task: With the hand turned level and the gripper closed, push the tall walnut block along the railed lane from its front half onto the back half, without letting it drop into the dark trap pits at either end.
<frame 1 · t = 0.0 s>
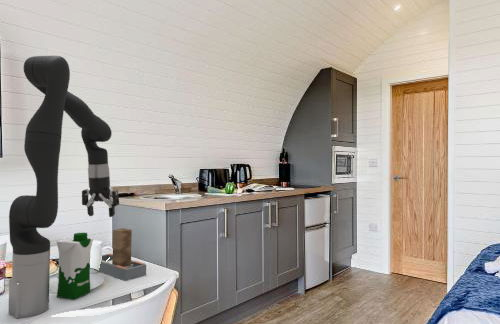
hand: (101, 216, 137), 22 cm above the table, tool pointing down, fingers open, 8 cm apart
walnut block: (121, 265, 138), point 3 cm above the table, touching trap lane
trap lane: (116, 271, 140), on the table
milk carton: (73, 295, 114), on the table
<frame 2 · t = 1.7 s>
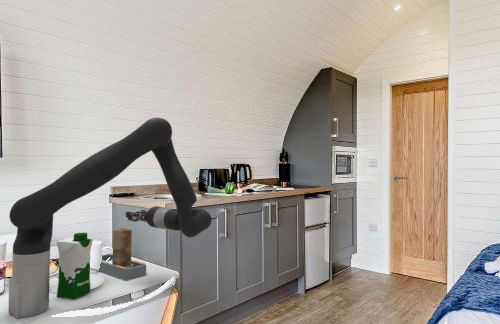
hand: (134, 213, 134), 24 cm above the table, tool horizontal, fingers open, 5 cm apart
nothing on the table moved.
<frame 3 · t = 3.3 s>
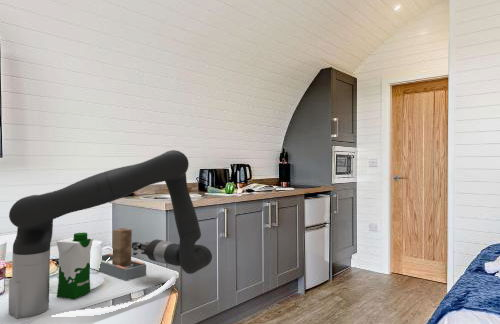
hand: (133, 244, 134), 12 cm above the table, tool horizontal, fingers closed
nothing on the table moved.
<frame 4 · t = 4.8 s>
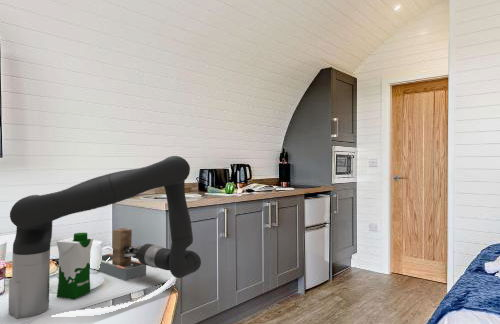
hand: (125, 248, 136), 10 cm above the table, tool horizontal, fingers closed
walnut block: (121, 265, 138), point 3 cm above the table, touching gripper
everything else where it was.
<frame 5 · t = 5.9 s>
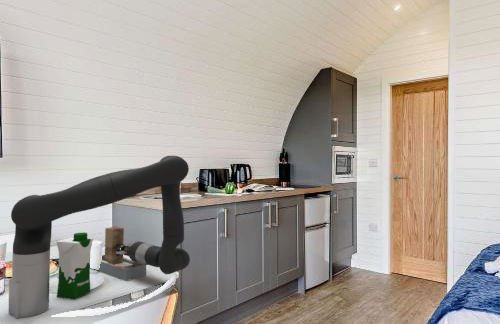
hand: (117, 246, 140), 10 cm above the table, tool horizontal, fingers closed
walnut block: (113, 262, 141), point 3 cm above the table, touching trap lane
everything else where it was.
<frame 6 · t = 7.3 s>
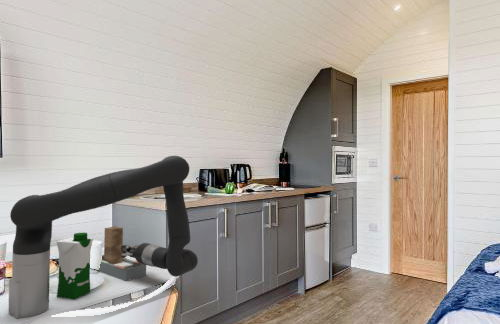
hand: (122, 247, 137), 10 cm above the table, tool horizontal, fingers closed
nothing on the table moved.
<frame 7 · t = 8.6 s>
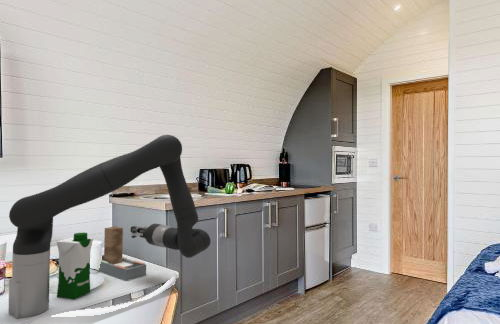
hand: (132, 229, 134), 18 cm above the table, tool horizontal, fingers closed
nothing on the table moved.
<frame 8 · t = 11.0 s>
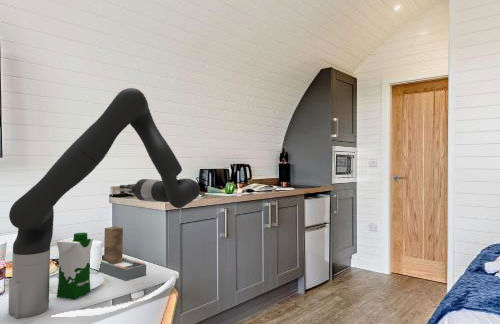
hand: (121, 187, 130), 34 cm above the table, tool horizontal, fingers closed
nothing on the table moved.
at the end: walnut block 0.0 cm from the target spot on the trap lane, point 3.0 cm above the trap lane's base; walnut block tilted 0° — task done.
